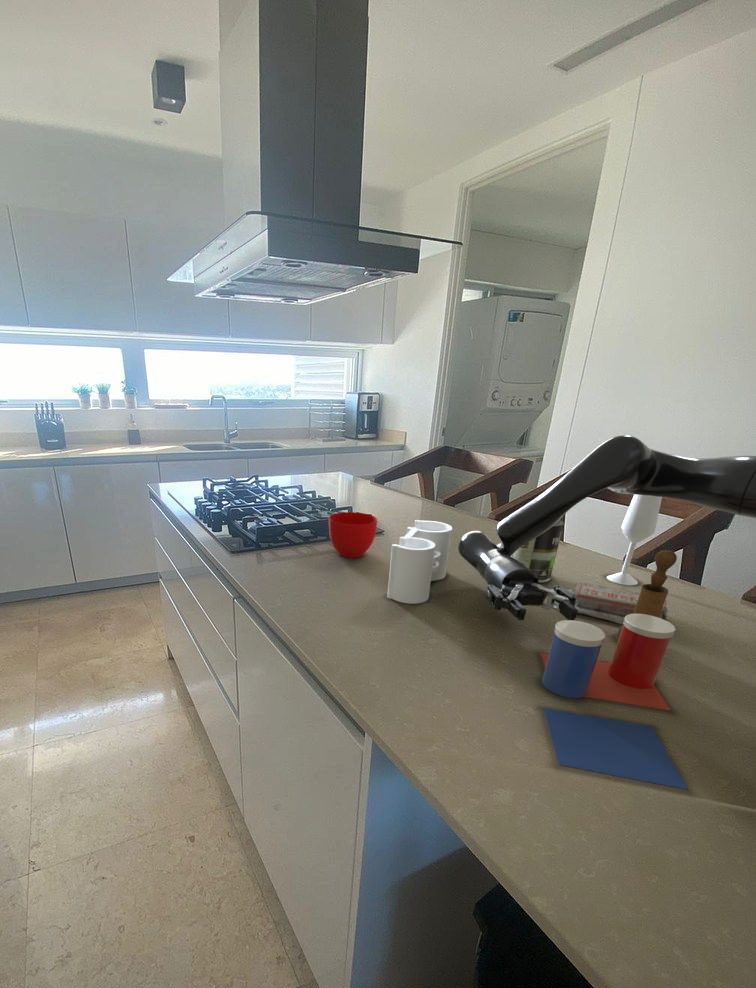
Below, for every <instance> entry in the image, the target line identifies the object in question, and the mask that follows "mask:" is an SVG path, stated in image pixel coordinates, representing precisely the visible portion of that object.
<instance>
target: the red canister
mask: <svg viewBox="0 0 756 988" xmlns="http://www.w3.org/2000/svg"><path fill="white" fill-rule="evenodd" d="M622 625H623V627H622V630H621V633H620V636H619V639H618V640H617V643H616V645H615V648H614V652H613V655H612V658H611V661H610V663H611V664H610V667H609V670H608V674H609V675H610V677H611V678H613V679H614V680H615V681H617V682H619V683H621V684H623V685H626V686H629V687H633V688H639V689H648V688H651V687H653V685H654V686H655V683H656V680H657V678H658V675H659V673H660V670H661V667H662V664H663V661H664V659H665V656H666V654H667V651H668V648H669V645H670V643H671V641H672V637H673V636H674V635H675V631H676V626H674V624H672V623H671V622H670V621H667V619H666V620H663V619H661V618H658V617H655V616H651V615H646V614H628V615H626V616H625V618H624V621H623V624H622Z"/></svg>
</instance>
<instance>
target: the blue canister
mask: <svg viewBox="0 0 756 988" xmlns="http://www.w3.org/2000/svg"><path fill="white" fill-rule="evenodd" d="M553 632H554V633H553V636H552V639H551V644H550V648H549V651H548V654H549V655H548V659H547V663H546V667H545V666H544V670H543V674H542V678H541V683H542V685H543V687H544V688H545V689H546V690H547V691H549V692H550V693H553V694H555V695H557V696H559V697H563V698H567V699H581V698H584V696H585V695H586V694H587V691H588V688H589V684H590V681H591V678H592V675H593V672H594V668H595V665H596V662H597V661H598V658H599V655H600V652H601V648H602V647H603V646H602V644H604V642H605V640H606V639H605V638H606V633H605V632H604V631H603V630H602V629H601V628H599V627H598V626H596V625H593V624H591V623H587V622H584V621H580V620H568V619H567V620H566V619H565V620H560V621H557V622H556V624H555V626H554V629H553Z"/></svg>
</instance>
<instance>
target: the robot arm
mask: <svg viewBox="0 0 756 988" xmlns="http://www.w3.org/2000/svg"><path fill="white" fill-rule="evenodd" d="M606 489H607V490H609V491H611V492H614V493H619V494H624V495H634V494H635V495H647V496H656V497H662V498H665V499H673V500H679V501H682V502H686V503H690V504H693V505H697V506H700V507H704V508H706V509H707V508H708V509H712V510H716V511H719V512H726V513H728V514H732V515H736V516H742V517H747V518H751V519H756V455H731V456H729V455H728V456H718V457H706V458H703V457H702V458H697V457H689V456H682V455H676V454H671V453H667V452H663V451H659V450H655V449H652V448H650V447H649V446H648V445H647V444H645V442H643V441H642V440H641V439H640V438H637V437H636V436H632V435H627V434H624V435H623V434H622V435H617V436H613V437H611V438H609V439H607V440H605V441H603V443H601V444H600V445H598V446H597V447H596V448H594V449H593V450H592V451H591V452H590V453H589V454H587V456H585V457H584V458H583V459H582V460H581V461H580V462H578V463H577V464H576V465H575V466H574V467H573V468H571V470H569V471H568V472H567V473H566V474H565V475H564V476H562V477H561V478H559V480H557V481H556V482H555V483H554V484H552V485H551V486H550V487H549V488H547V489H545V491H543V492H542V493H540V494H539V495H538V496H536V497H535V498H534V499H533V500H531V501H529V502H528V503H526V504H525V505H523V506H521V507H520V508H519V509H517V510H516V511H514V512H512V513H511V514H510V515H508V516H506V517H505V518H503V519H501V521H499V522H498V523H497V525H496V529H495V530H496V533H497V536H498V538H499V540H500V543H498V544H496V543H495V542H494V541H493V540H492V538H490V537H488V535H486V533H485V532H483V531H480V530H472V531H469V532H467V533H465V534H464V535H463V536H462V537H461V538H460V540H459V542H458V546H457V550H458V554H459V555H460V557H461V558H462V559H463V560H465V561H466V562H467V563H468V564H469V565H470V566H471V567H472V568H473V569H474V570H475V571H477V573H479V576H480V577H481V578H482V579H483V580H484V581H485V582H486V583H487V588H486V593H485V599H486V600H487V602H488V603H489V604H490V605H491V607H492V608H493V609H494V610H495V611H501V610H502V609H504V611H506V612H509V613H510V614H511V615H512V616H513V617H514V618H516V619H517V620H518V621H524V620H525V618H526V614H527V608H526V607H525V606H532V607H534V606H535V607H537V608H541V609H543V610H545V611H549V610H554V611H557V612H559V614H561V615H562V616H563V617H564V618H565V619H567V620H574V621H576V618H577V615H578V613H577V611H578V610H577V608H575V607H574V606H575V602H576V599H577V597H576V596H574V595H573V594H571V593H570V592H569V591H568V589H566V588H564V587H563V586H562V585H560V584H559V585H558V584H555V585H554V587H553V588H547V587H546V586H543V585H541V583H539V581H538V579H537V577H536V575H535V574H534V573H533V572H532V571H531V570H529V569H528V568H527V567H526V566H524V565H523V564H522V563H521V562H519V561H518V560H516V559H514V558H512V557H511V555H512V554H513V553H514V552H515V551H517V550H518V549H519V548H520V547H521V546H523V545H524V544H526V543H528V542H530V541H531V540H533V539H535V538H536V537H538V536H540V535H541V534H543V533H544V532H546V531H547V530H549V529H550V528H551V527H552V526H553V525H555V524H556V523H557V522H558V521H559V520H561V519H562V518H563V517H564V516H565V515H566V514H567V513H568V512H569V511H570V510H571V509H572V508H573V507H575V506H576V505H578V504H579V503H580V502H582V501H584V500H585V499H587V498H589V497H591V496H593V495H595V494H597V493H599V492H601V491H604V490H606ZM546 599H547V600H546ZM545 601H546V603H545ZM555 602H556V603H558V604H555Z"/></svg>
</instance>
